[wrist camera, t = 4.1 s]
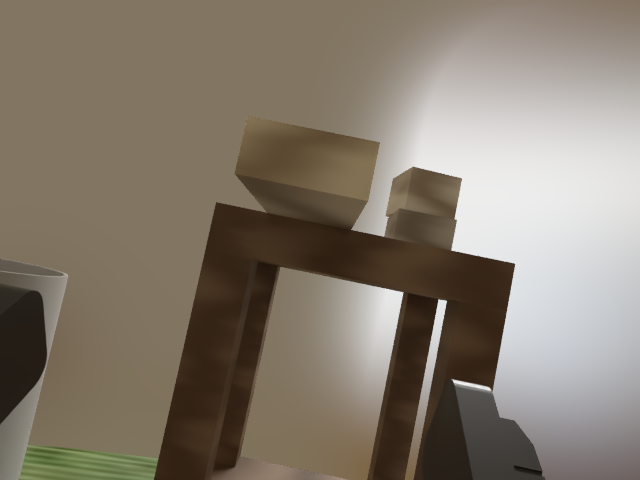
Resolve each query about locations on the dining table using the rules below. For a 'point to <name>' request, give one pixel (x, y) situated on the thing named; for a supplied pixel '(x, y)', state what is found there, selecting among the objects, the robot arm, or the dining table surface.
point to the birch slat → (306, 171)
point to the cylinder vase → (13, 433)
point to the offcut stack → (423, 208)
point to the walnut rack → (252, 321)
